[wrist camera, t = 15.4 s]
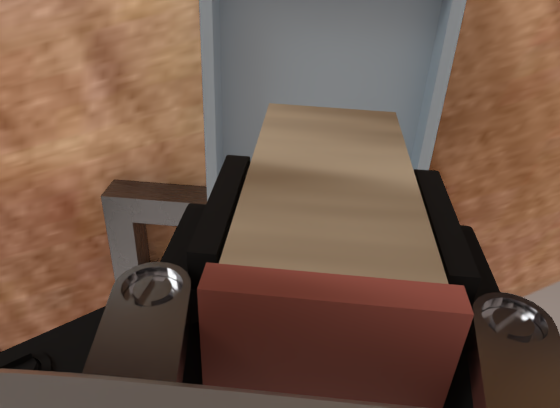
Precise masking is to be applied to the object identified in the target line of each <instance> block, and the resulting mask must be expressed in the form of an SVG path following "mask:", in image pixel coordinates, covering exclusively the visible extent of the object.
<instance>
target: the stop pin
mask: <svg viewBox="0 0 560 408" xmlns="http://www.w3.org/2000/svg"><path fill="white" fill-rule="evenodd" d="M197 298H198V314H199V331H200V347H201V363H202V380H203V385H209V386H219V387H229V388H239V389H250V390H260V391H270V392H279V393H289V394H299V395H309V396H319V397H328V398H338V399H348V400H357V401H367V402H377V403H386V404H396V405H406V406H415V407H425V408H443V405H444V403H445V400H446V397H447V394H448V391H449V388H450V385H451V382H452V379H453V376H454V373H455V370H456V367H457V364H458V361H459V358H460V355H461V352H462V349H463V346H464V343H465V340H466V337H467V334H468V331H469V328H470V325H471V322H472V319H473V316H474V313H473V310H472V307H471V304H470V301H469V299H468V296H467V293H466V290H465V287H464V285H453V284H448V280H447V277H446V274H445V271H444V267H443V264H442V261H441V258H440V254H439V251H438V248H437V245H436V241H435V238H434V235H433V232H432V229H431V225H430V222H429V219H428V216H427V212H426V209H425V206H424V203H423V199H422V196H421V193H420V190H419V186H418V183H417V180H416V177H415V173H414V170H413V167H412V164H411V160H410V157H409V154H408V151H407V148H406V144H405V141H404V138H403V135H402V131H401V128H400V125H399V122H398V118H397V115H396V112H386V111H372V110H358V109H344V108H330V107H316V106H302V105H288V104H274V103H269V105H268V109H267V112H266V115H265V118H264V121H263V124H262V128H261V131H260V134H259V137H258V140H257V144H256V147H255V150H254V153H253V156H252V159H251V163H250V166H249V169H248V172H247V175H246V179H245V182H244V185H243V188H242V191H241V194H240V198H239V201H238V204H237V207H236V210H235V214H234V217H233V220H232V223H231V226H230V230H229V233H228V236H227V239H226V242H225V245H224V249H223V252H222V255H221V258H220V261H219V264H218V263H207V262H206V265H205V267H204V270H203V273H202V276H201V279H200V282H199V285H198V287H197Z"/></svg>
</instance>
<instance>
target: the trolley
mask: <svg viewBox="0 0 560 408" xmlns="http://www.w3.org/2000/svg"><path fill="white" fill-rule="evenodd" d="M466 1H467V0H199V11H200V36H201V61H202V86H203V111H204V136H205V161H206V186H207V201H208V198H209V196H210V194H211V191H212V189H213V187H214V184H215V182H216V179H217V177H218V175H219V172H220V170H221V167H222V165H223V163H224V160H225V158H226V156H227V155H238V156H250V162H251V159H252V156H253V153H254V150H255V147H256V144H257V140H258V137H259V134H260V131H261V128H262V124H263V121H264V118H265V115H266V112H267V109H268V105H269V103H274V104H288V105H302V106H316V107H330V108H344V109H358V110H372V111H386V112H396V115H397V118H398V122H399V125H400V128H401V131H402V135H403V138H404V141H405V144H406V148H407V151H408V154H409V157H410V160H411V164H412V167H413V170H414V169H419V170H429V167H430V162H431V158H432V153H433V149H434V144H435V140H436V135H437V131H438V126H439V122H440V117H441V113H442V108H443V104H444V99H445V95H446V90H447V86H448V81H449V77H450V72H451V68H452V63H453V59H454V54H455V50H456V46H457V41H458V37H459V32H460V28H461V23H462V19H463V14H464V10H465V5H466Z"/></svg>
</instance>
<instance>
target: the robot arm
mask: <svg viewBox="0 0 560 408" xmlns="http://www.w3.org/2000/svg"><path fill="white" fill-rule="evenodd" d="M250 163H251V162H250V156H238V155H227V156H226V158H225V160H224V163H223V165H222V167H221V170H220V172H219V175H218V177H217V179H216V182H215V184H214V187H213V189H212V191H211V194H210V196H209V198H208V201H207V203H206V204H196V203H189V204H188V206H187V207H186V209H185V211H184V213H183V215H182V218H181V220H180V222H179V224H178V226H177V228H176V230H175V232H174V234H173V236H172V238H171V241H170V243H169V245H168V247H167V249H166V251H165V253H164V255H163V257H162V259H161V261H160V262H149V263H144V264H141V265H137V266H134V267H133V268H131V269H129V270H127V271H125V272H124V273H123V274H122V275H121V276H119V277H118V278H117V280H116V282H115V283H114V285H113V287H112V290H111V293H110V296H109V299H108V301H107V304H106V306H105V307H102V308H100V309H98V310H96V311H93V312H91V313H89V314H87V315H84V316H82V317H80V318H77V319H75V320H73V321H71V322H68V323H66V324H64V325H62V326H59V327H57V328H55V329H52V330H50V331H48V332H46V333H43V334H41V335H39V336H37V337H34V338H32V339H30V340H27V341H25V342H23V343H21V344H18V345H16V346H14V347H12V348H9V349H7V350H5V351H3V352H1V353H0V408H425V407H415V406H406V405H396V404H386V403H377V402H367V401H357V400H348V399H338V398H328V397H319V396H309V395H299V394H289V393H279V392H270V391H260V390H250V389H239V388H229V387H219V386H209V385H203V380H202V363H201V347H200V331H199V314H198V298H197V287H198V285H199V282H200V279H201V276H202V273H203V270H204V267H205V265H206V262H207V263H218V264H219V261H220V258H221V255H222V252H223V249H224V245H225V242H226V239H227V236H228V233H229V230H230V226H231V223H232V220H233V217H234V214H235V210H236V207H237V204H238V201H239V198H240V194H241V191H242V188H243V185H244V182H245V179H246V175H247V172H248V169H249V166H250ZM414 173H415V177H416V180H417V183H418V186H419V190H420V193H421V196H422V199H423V203H424V206H425V209H426V212H427V216H428V219H429V222H430V225H431V229H432V232H433V235H434V238H435V241H436V245H437V248H438V251H439V254H440V258H441V261H442V264H443V267H444V271H445V274H446V277H447V280H448V284H453V285H464V287H465V290H466V293H467V296H468V299H469V301H470V304H471V307H472V310H473V313H474V316H473V319H472V322H471V325H470V328H469V331H468V334H467V337H466V340H465V343H464V346H463V349H462V352H461V355H460V358H459V361H458V364H457V367H456V370H455V373H454V376H453V379H452V382H451V385H450V388H449V391H448V394H447V397H446V400H445V403H444V405H443V408H560V334H559V332H558V329H557V326H556V324H555V323H554V321H553V319H552V317H550V315H549V314H548V313H547V312H546V311H544V310H543V309H542V308H541V307H539V306H538V305H536V304H535V303H533V302H532V301H529V300H527V299H525V298H523V297H521V296H517V295H513V294H510V293H501V292H500V291H499V288H498V286H497V284H496V281H495V279H494V277H493V274H492V272H491V270H490V268H489V265H488V263H487V261H486V258H485V256H484V254H483V251H482V249H481V247H480V245H479V242H478V240H477V238H476V235H475V233H474V231H473V229H472V228H471V227H469V226H462V225H460V224H459V221H458V219H457V216H456V214H455V211H454V209H453V206H452V204H451V201H450V199H449V196H448V194H447V191H446V189H445V186H444V184H443V181H442V179H441V176H440V174H439V172H438V171H432V170H419V169H414Z"/></svg>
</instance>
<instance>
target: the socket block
mask: <svg viewBox="0 0 560 408" xmlns="http://www.w3.org/2000/svg"><path fill="white" fill-rule="evenodd" d="M101 200H102V206H103V211H104V217H105V223H106V229H107V235H108V241H109V247H110V253H111V259H112V265H113V271H114V277H115V282H116V280H117V278H118V277H119V276H121V275H122V274H123V273H124V272H125V271H127V270H129V269H131V268H133V267H134V266H137V265H141V264H144V263H149V262H150V258H149V249H148V241H147V232H146V224H157V225H169V226H178V224H179V222H180V220H181V218H182V215H183V213H184V211H185V209H186V207H187V206H188V204H189V203H196V204H206V203H207V187H202V186H189V185H176V184H163V183H150V182H137V181H124V180H113V181H112V183H111V184H110V185H109V186H108V188H107V189H106V190H105V192H104V193H103V194H102V195H101Z"/></svg>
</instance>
